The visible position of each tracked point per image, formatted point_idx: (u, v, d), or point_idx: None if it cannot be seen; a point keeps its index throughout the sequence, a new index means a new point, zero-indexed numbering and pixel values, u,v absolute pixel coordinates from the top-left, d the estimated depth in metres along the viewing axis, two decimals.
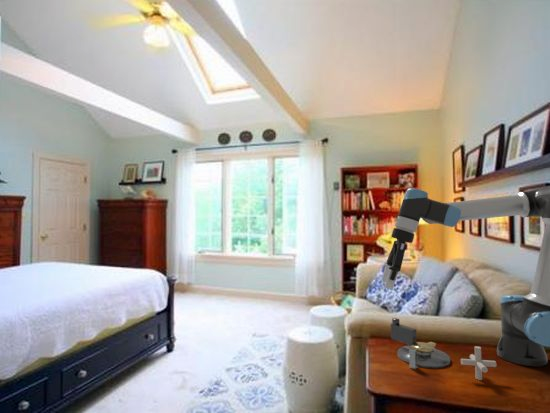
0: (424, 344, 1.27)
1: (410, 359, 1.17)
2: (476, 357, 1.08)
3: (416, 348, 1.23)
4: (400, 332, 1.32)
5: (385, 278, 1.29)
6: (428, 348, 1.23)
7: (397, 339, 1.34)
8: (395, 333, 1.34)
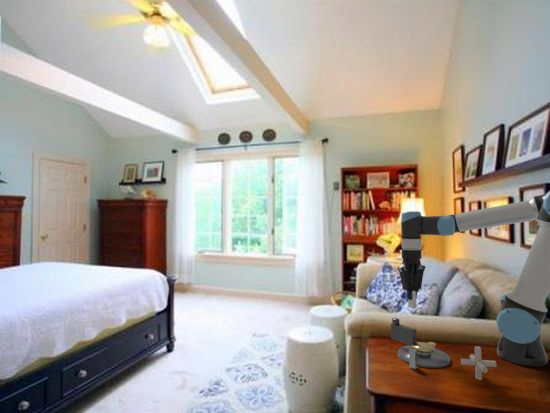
0: (424, 344, 1.27)
1: (410, 359, 1.17)
2: (476, 357, 1.08)
3: (416, 348, 1.23)
4: (400, 332, 1.32)
5: None
6: (428, 348, 1.23)
7: (397, 339, 1.34)
8: (395, 333, 1.34)
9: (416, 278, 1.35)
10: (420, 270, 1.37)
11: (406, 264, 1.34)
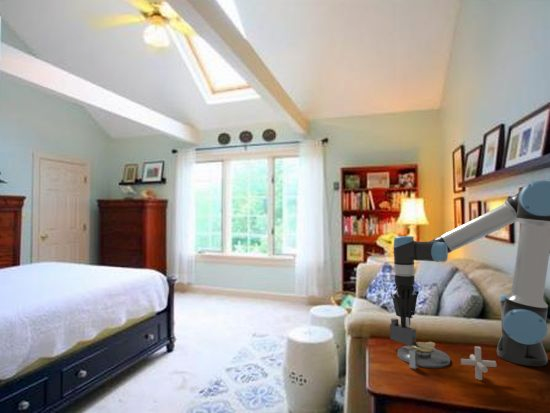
0: (424, 344, 1.27)
1: (410, 359, 1.17)
2: (476, 357, 1.08)
3: (417, 348, 1.23)
4: (399, 332, 1.32)
5: None
6: (428, 348, 1.23)
7: (396, 339, 1.33)
8: (395, 333, 1.34)
9: (409, 304, 1.34)
10: (413, 295, 1.35)
11: (399, 290, 1.32)
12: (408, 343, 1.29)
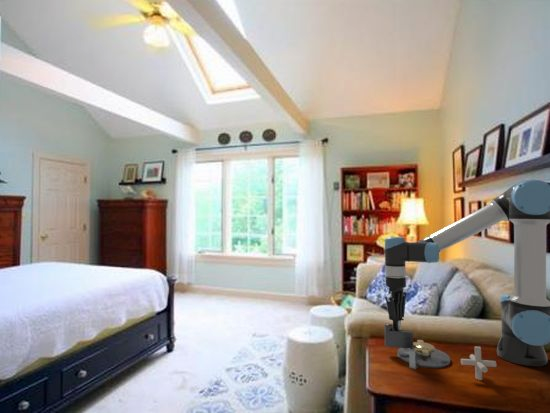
0: (420, 343, 1.27)
1: (410, 359, 1.17)
2: (476, 357, 1.08)
3: (425, 350, 1.21)
4: (397, 337, 1.27)
5: None
6: (431, 347, 1.24)
7: (393, 345, 1.27)
8: (391, 339, 1.27)
9: (400, 306, 1.31)
10: (402, 297, 1.33)
11: (393, 293, 1.28)
12: (408, 346, 1.26)
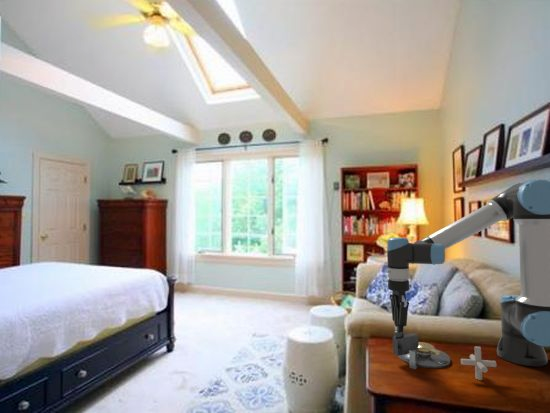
0: None
1: (410, 359, 1.17)
2: (476, 357, 1.08)
3: (432, 349, 1.22)
4: (407, 343, 1.21)
5: None
6: (429, 345, 1.26)
7: (404, 352, 1.20)
8: (402, 346, 1.20)
9: None
10: None
11: None
12: None
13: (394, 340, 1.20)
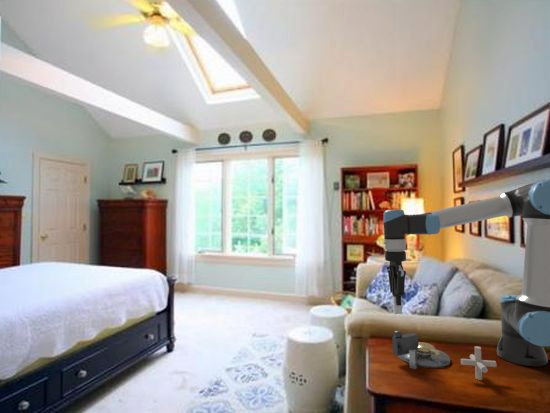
0: None
1: (410, 359, 1.17)
2: (476, 357, 1.08)
3: (432, 349, 1.22)
4: (407, 343, 1.21)
5: None
6: (429, 345, 1.26)
7: (404, 352, 1.20)
8: (402, 346, 1.20)
9: None
10: None
11: None
12: None
13: (394, 340, 1.20)
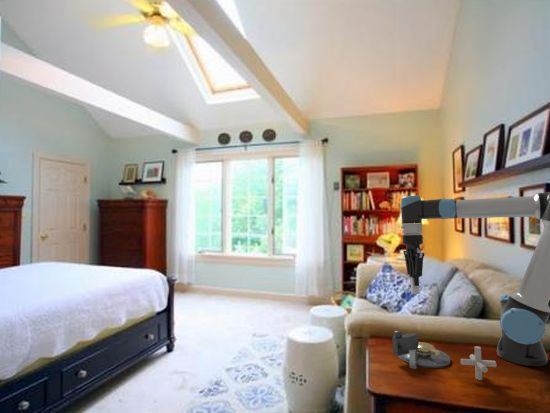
0: None
1: (410, 359, 1.17)
2: (476, 357, 1.08)
3: (432, 349, 1.22)
4: (407, 343, 1.21)
5: None
6: (429, 345, 1.26)
7: (404, 352, 1.20)
8: (402, 346, 1.20)
9: None
10: None
11: None
12: None
13: (394, 340, 1.20)
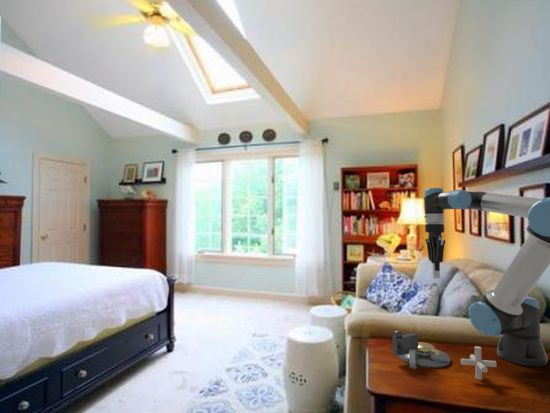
0: None
1: (410, 359, 1.17)
2: (476, 357, 1.08)
3: (432, 349, 1.22)
4: (407, 343, 1.21)
5: None
6: (429, 345, 1.26)
7: (404, 352, 1.20)
8: (402, 346, 1.20)
9: None
10: None
11: None
12: None
13: (394, 340, 1.20)
